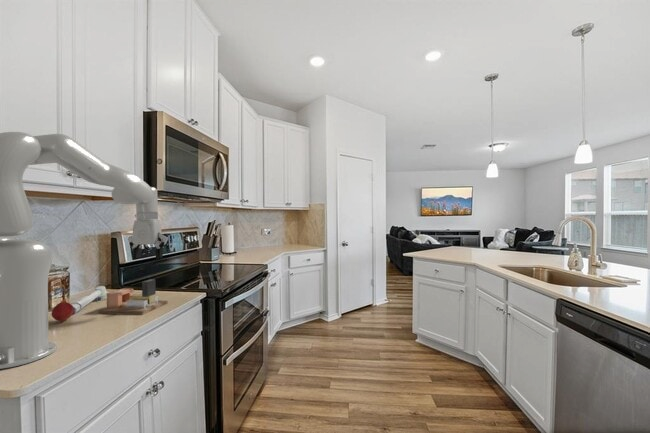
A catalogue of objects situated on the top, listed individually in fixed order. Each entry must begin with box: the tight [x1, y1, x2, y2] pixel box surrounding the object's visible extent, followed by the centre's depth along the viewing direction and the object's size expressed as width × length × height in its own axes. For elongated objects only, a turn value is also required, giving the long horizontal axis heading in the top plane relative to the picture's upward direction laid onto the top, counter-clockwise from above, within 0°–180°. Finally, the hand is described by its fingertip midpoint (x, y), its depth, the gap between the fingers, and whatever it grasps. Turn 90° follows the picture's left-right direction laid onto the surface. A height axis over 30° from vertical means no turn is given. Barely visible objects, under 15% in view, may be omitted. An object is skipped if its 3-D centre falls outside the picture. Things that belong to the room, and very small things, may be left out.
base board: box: [98, 299, 168, 315], centre depth 114 cm, size 14×19×1 cm
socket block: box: [106, 287, 135, 308], centre depth 114 cm, size 8×5×6 cm, turn 173°
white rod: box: [70, 285, 109, 316], centre depth 118 cm, size 5×7×25 cm
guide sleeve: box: [126, 295, 159, 309], centre depth 113 cm, size 8×8×3 cm
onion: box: [51, 299, 74, 323], centre depth 99 cm, size 6×6×8 cm
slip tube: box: [130, 278, 157, 304], centre depth 113 cm, size 4×9×9 cm, turn 83°
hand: (148, 258), depth 113 cm, fingers open, 9 cm apart
